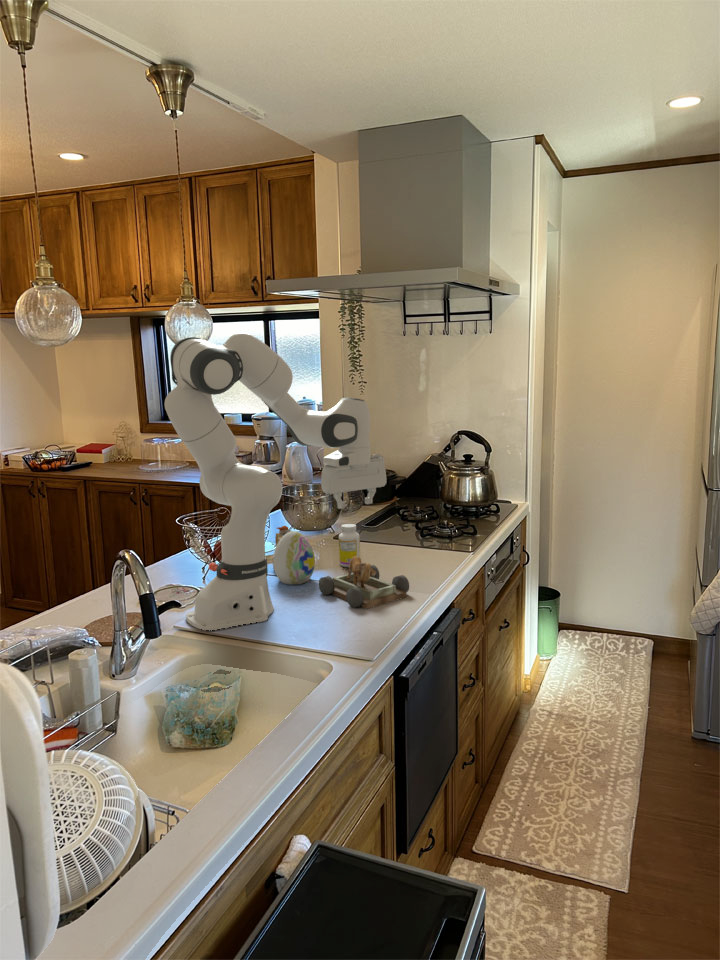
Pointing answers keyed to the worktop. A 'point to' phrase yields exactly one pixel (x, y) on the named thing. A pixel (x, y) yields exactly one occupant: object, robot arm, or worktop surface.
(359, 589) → the toy car chassis
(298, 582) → the decorative egg
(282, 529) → the toy helicopter
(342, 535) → the supplement bottle
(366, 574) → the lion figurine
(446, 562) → the worktop surface
